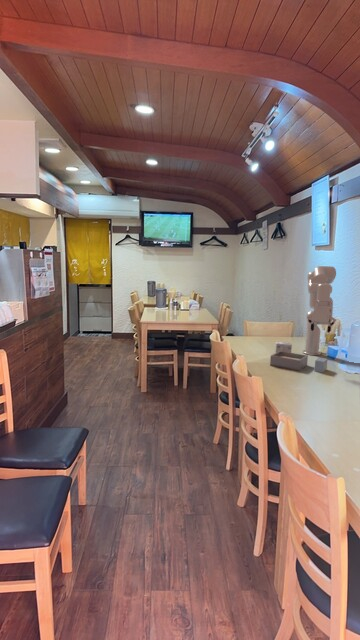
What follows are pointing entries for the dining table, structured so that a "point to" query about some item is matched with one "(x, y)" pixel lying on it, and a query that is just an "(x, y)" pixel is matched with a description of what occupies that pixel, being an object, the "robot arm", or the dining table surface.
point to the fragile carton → (321, 365)
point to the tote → (289, 360)
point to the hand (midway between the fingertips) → (320, 331)
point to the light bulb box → (283, 347)
